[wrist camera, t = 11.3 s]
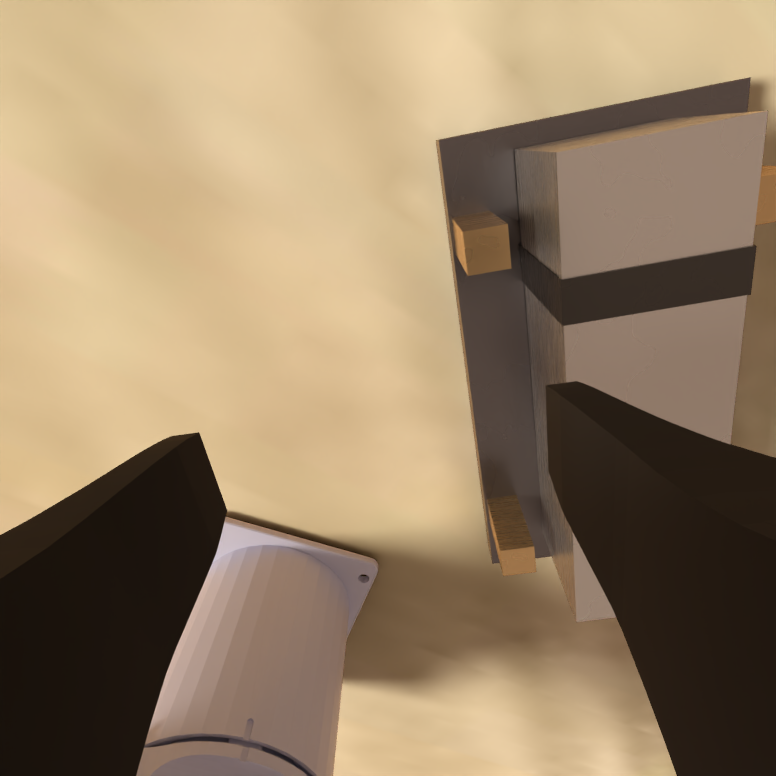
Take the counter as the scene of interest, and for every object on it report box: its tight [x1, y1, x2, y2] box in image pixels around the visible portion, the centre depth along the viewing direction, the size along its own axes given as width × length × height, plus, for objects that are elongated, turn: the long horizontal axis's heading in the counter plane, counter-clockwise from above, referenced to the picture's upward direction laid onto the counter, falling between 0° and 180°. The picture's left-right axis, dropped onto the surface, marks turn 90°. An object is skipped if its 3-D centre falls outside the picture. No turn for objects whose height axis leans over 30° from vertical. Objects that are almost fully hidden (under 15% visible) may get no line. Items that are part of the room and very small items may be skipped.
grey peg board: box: [436, 77, 776, 576], centre depth 18 cm, size 17×9×4 cm, turn 10°
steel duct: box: [515, 111, 768, 622], centre depth 17 cm, size 15×5×5 cm, turn 11°
